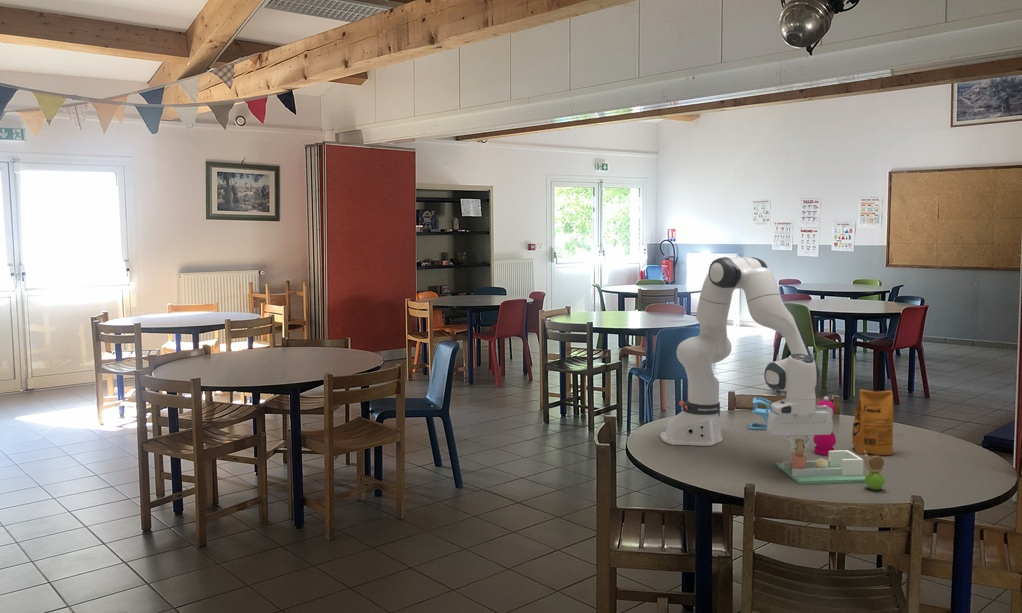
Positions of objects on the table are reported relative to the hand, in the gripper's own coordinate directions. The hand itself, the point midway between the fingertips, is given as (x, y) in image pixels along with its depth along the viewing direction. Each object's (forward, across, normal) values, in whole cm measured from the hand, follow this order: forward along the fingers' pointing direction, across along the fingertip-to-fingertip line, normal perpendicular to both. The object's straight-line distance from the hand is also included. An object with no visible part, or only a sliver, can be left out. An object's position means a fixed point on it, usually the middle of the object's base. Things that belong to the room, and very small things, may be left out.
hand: (799, 448), depth 248 cm
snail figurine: (+9, -16, +15) cm, 24 cm away
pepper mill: (+9, -18, -22) cm, 30 cm away
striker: (+7, 0, 0) cm, 7 cm away
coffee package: (+9, -36, -22) cm, 43 cm away
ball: (+6, -8, 0) cm, 9 cm away
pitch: (+9, -8, 0) cm, 11 cm away
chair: (+9, -8, -55) cm, 56 cm away
